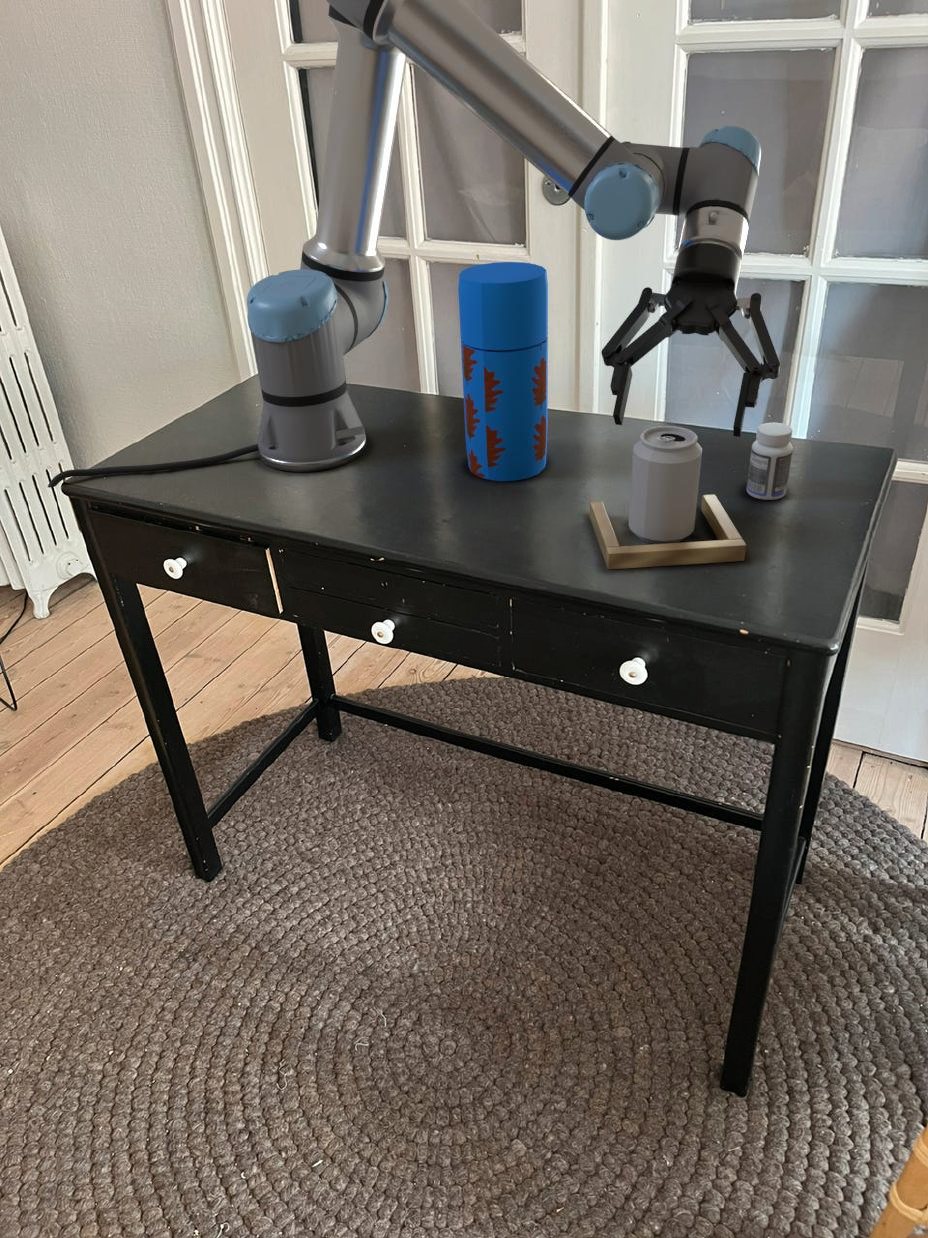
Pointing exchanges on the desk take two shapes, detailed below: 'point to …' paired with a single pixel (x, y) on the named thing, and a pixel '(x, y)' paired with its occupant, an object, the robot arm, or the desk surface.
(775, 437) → the pill bottle
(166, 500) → the desk surface
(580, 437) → the desk surface
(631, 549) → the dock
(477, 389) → the thermos
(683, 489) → the can
